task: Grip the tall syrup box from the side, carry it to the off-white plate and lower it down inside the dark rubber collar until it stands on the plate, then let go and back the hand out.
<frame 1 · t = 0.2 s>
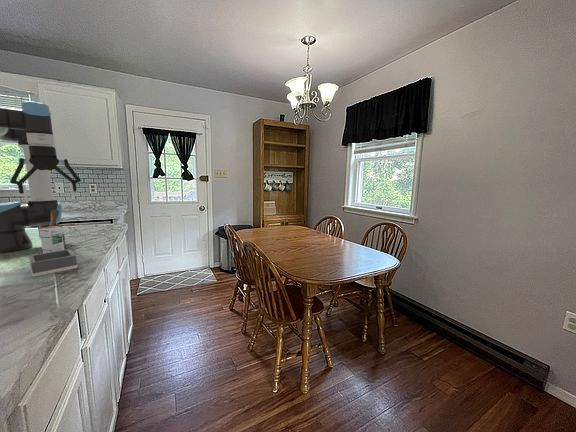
hand: (51, 200, 102), 27 cm above the countertop, tool pointing down, fingers open, 13 cm apart
syrup box: (56, 259, 114), on the countertop
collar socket: (54, 267, 103), on the countertop
mortar and pestle: (54, 251, 126), on the countertop
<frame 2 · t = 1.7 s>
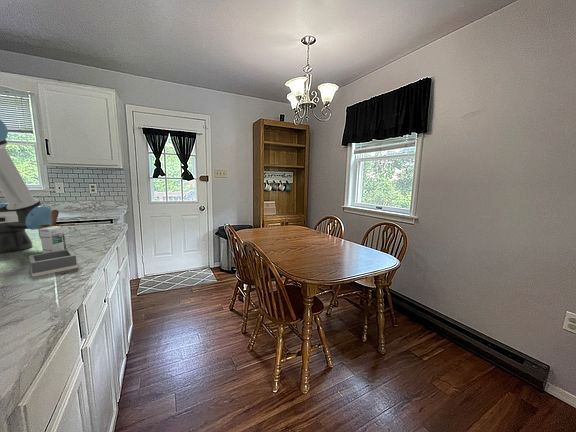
hand: (17, 216, 104), 20 cm above the countertop, tool horizontal, fingers open, 13 cm apart
nothing on the countertop moved.
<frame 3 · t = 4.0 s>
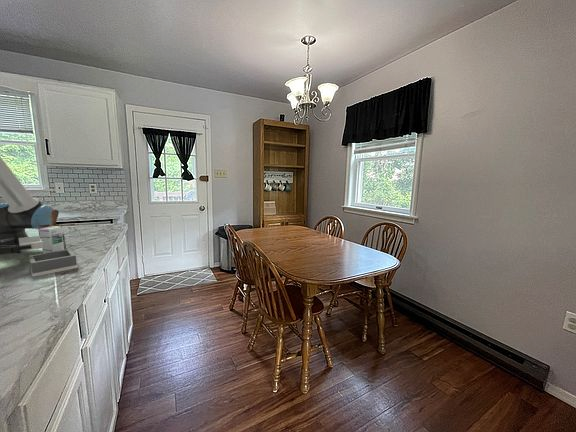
hand: (41, 241, 109), 9 cm above the countertop, tool horizontal, fingers open, 13 cm apart
nothing on the countertop moved.
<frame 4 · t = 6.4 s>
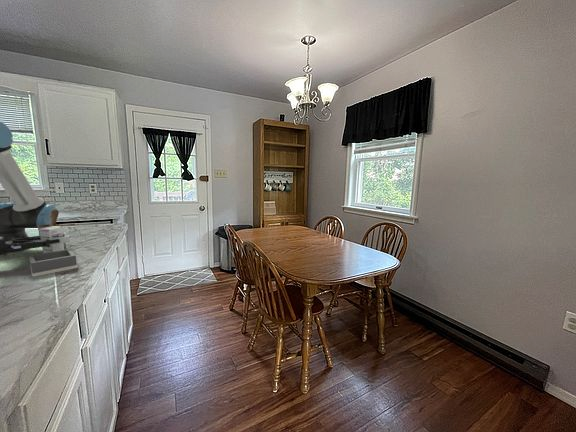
hand: (67, 237, 116), 9 cm above the countertop, tool horizontal, fingers closed on syrup box, 7 cm apart
syrup box: (55, 259, 114), on the countertop, touching gripper
everything else where it was.
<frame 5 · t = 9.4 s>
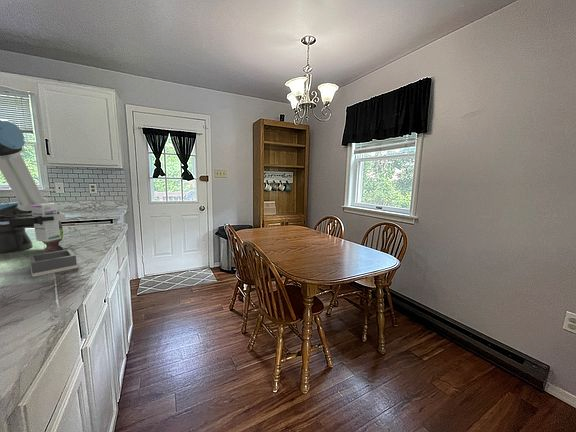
hand: (63, 215, 104), 21 cm above the countertop, tool horizontal, fingers closed on syrup box, 7 cm apart
syrup box: (49, 240, 101), point 12 cm above the countertop, touching gripper
everything else where it was.
when the fingers open (11 cm above the countertop, at t = 12.8 s): syrup box stays where it is, resting on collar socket.
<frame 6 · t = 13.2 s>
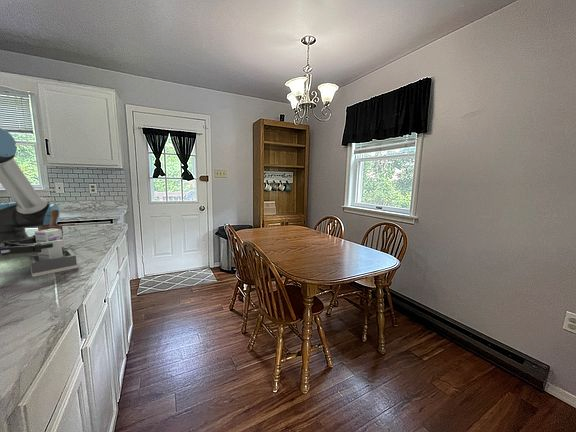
hand: (61, 240, 104), 11 cm above the countertop, tool horizontal, fingers open, 13 cm apart
syrup box: (53, 265, 103), point 1 cm above the countertop, touching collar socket
everything else where it was.
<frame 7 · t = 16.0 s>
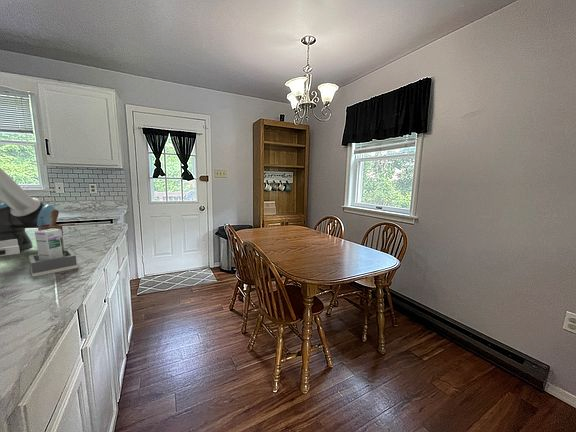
hand: (18, 245, 95), 11 cm above the countertop, tool horizontal, fingers open, 13 cm apart
nothing on the countertop moved.
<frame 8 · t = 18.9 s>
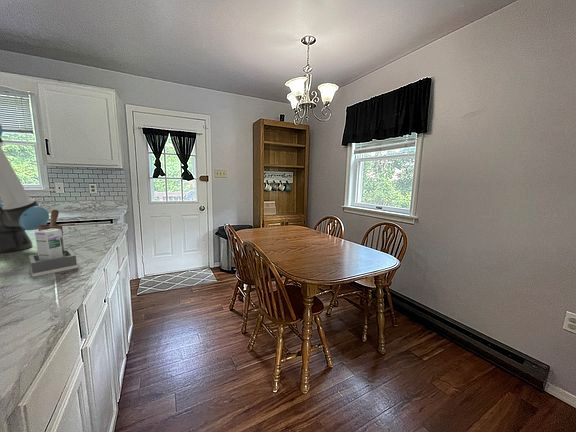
nothing on the countertop moved.
at the end: syrup box 0.1 cm off-centre on the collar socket, point 1.0 cm above the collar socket's base; syrup box tilted 0°; the gripper is holding nothing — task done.
